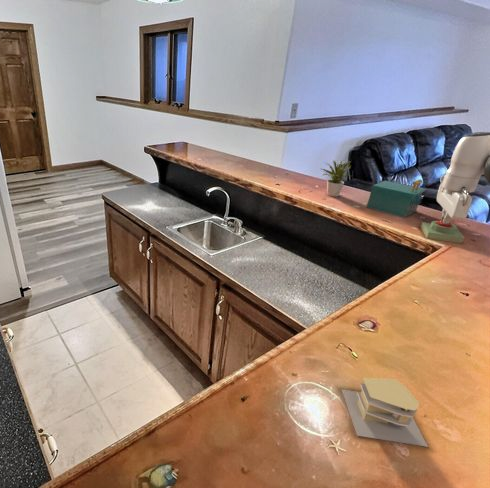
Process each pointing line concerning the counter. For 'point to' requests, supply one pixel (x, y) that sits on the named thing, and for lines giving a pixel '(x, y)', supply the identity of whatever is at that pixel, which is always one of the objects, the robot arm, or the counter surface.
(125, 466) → the counter surface
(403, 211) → the chest
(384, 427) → the stacked layers on plate
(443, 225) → the button
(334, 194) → the house plant
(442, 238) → the console
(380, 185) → the lid
